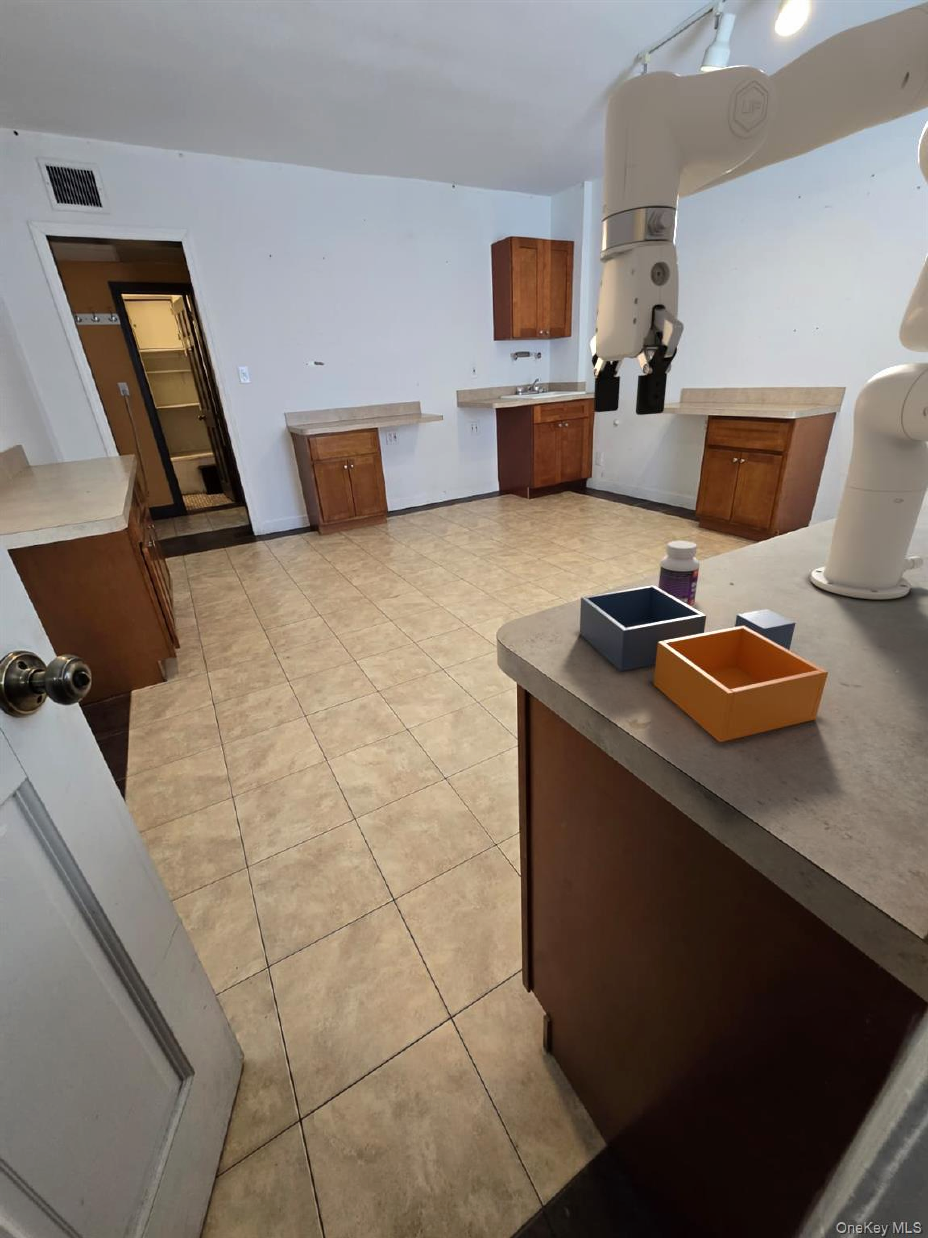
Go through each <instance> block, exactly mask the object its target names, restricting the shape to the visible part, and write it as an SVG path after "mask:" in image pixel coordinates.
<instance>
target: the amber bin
mask: <svg viewBox="0 0 928 1238" xmlns="http://www.w3.org/2000/svg"><path fill="white" fill-rule="evenodd" d="M654 666H655V667H654V676H653V685H654V687H656V688H657V689H659V691H660V692H662V693H663V694H664V695H665V696H666V697H668V699H670V700H671V701H672V702H673V703H674V704H675V705H676V706H677V707H679V708H680V709H681V710H682V711H683V712H684V713H685V714H687V715H688V716H689V717H690V718H691V719H692V720H693V721H695V722H696V723H697V724H698V725H700V726H701V727H702V728H703V729H704V730H705V731H706V732H707V733H708V734H709V735H711V736H712V737H713V738H714V739H715V740H716V741H718V742H719V743H723V742H727V741H731V740H735V739H736V740H737V739H739V738H740V739H741V738H743V737H748V736H752V735H756V734H760V733H763V732H764V733H765V732H769V731H773V730H776V729H781V728H785V727H789V726H793V725H798V724H802V723H806V722H811V721H814V720H816V719H817V716H818V711H819V709H820V704H821V700H822V696H823V693H824V689H825V686H826V682H827V678H828V675H829V671H828V670H826V669H824V668H822V667H820V666H818V665H817V664H814V663H813V662H811V661H809V660H808V659H806V658H804V657H802V656H800V655H799V654H797V653H794V652H793V651H791V650H787V649H786V648H784V647H782V646H780V645H778V644H776V643H775V642H773V641H771V640H769V639H767V638H765V637H764V636H762V635H760V634H758V633H756V632H755V631H753V630H751V629H749V628H747V627H745V626H738V627H735V626H734V627H729V628H723V629H718V630H713V631H707V632H704V633H702V634H696V635H691V636H686V637H681V638H675V639H670V640H665V641H660V642H658V647H657V656H656V665H654Z"/></svg>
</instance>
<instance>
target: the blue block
mask: <svg viewBox="0 0 928 1238" xmlns="http://www.w3.org/2000/svg"><path fill="white" fill-rule="evenodd" d="M738 626H745V627H747V628H749V629H751V630H753V631H755V632H756V633H758V634H760V635H762V636H764V637H765V638H767V639H769V640H771V641H773V642H775V643H776V644H778V645H780V646H782V647H784V648H786V649H787V650H789V651H791V650H790V649H791V645H792V640H793V636H794V632H795V629H796V621H793V620H791V619H789V618H787V617H785V616H782V615H780V614H778V613H777V612H774V611H772V610H770V609H769V608H765V609H760V610H753V611H748V612H741V613H738V614H736V617H735V624H734V627H738Z"/></svg>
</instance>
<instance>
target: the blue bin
mask: <svg viewBox="0 0 928 1238" xmlns="http://www.w3.org/2000/svg"><path fill="white" fill-rule="evenodd" d="M579 614H580V615H579V634H580V636H581V637H583V638H584V639H585V640H586V641H587V642H588V643H589V644H590V645H591V646H593V647H594V649H596V650H597V651H598V652H599V653H600V654H601V655H602V656H603V657H604V658H606V659H607V660H608V661H609V662H610V663H611V664H612V665H613V666H614V667H615V668H616V669H618V671H619V672H625V671H631V670H635V669H641V668H646V667H650V666H656V656H657V647H658V642H660V641H665V640H670V639H675V638H681V637H686V636H691V635H696V634H702V633H705V629H706V622H707V615H706V614H704V613H703V612H701V611H699V610H698V609H696V608H694V607H693V608H692V607H691V606H689V605H687V604H685V603H684V602H682V601H680V600H679V599H677V598H675V597H673V596H672V595H670V594H668V593H666V592H665V591H663V590H661V589H659V588H658V586H656V585H653V584H652V585H648V586H641V587H635V588H628V589H623V590H617V591H610V592H605V593H598V594H592V595H586V596H580V613H579Z"/></svg>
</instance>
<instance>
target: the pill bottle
mask: <svg viewBox="0 0 928 1238" xmlns="http://www.w3.org/2000/svg"><path fill="white" fill-rule="evenodd" d="M697 547H698V546H697V544H696V543H694V542H691V541H686V540H674V541H670V542H668V543H667V545H666V555H665V556H664V557H663V558H661V559H660V563H659V573H658V574H659V575H658V582H657V587H658V588H659V589H661V590H663V591H665V592H666V593H668V594H670V595H672V596H673V597H675V598H677V599H679V600H680V601H682V602H684V603H685V604H687V605H689V606H691V607H692V608H694V607H695V601H696V596H697V595H696V594H697V586H698V580H699V571H700V561H699V560H698V559H697V558H696V557H695V556H696V554H697Z"/></svg>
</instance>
